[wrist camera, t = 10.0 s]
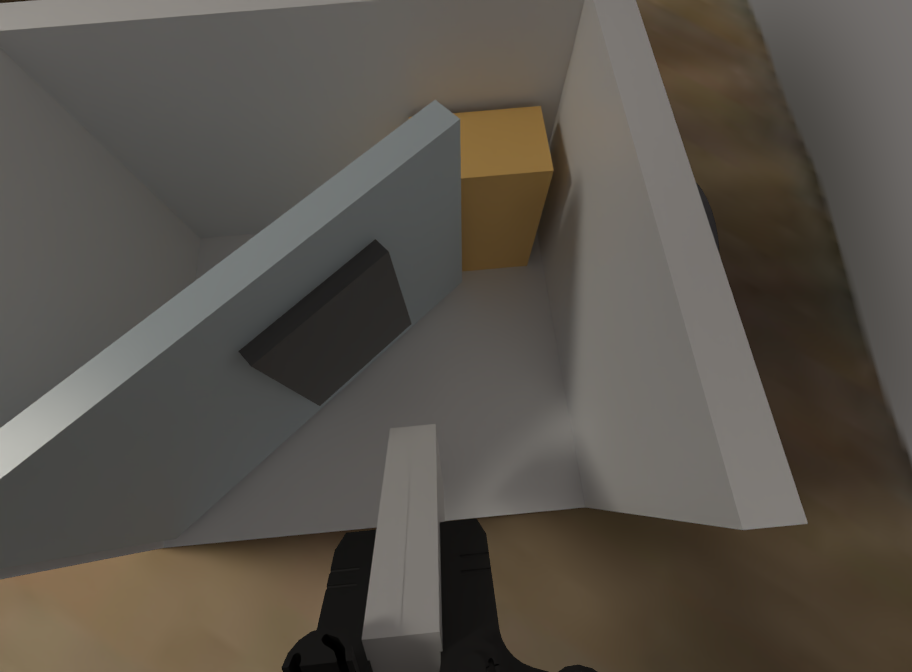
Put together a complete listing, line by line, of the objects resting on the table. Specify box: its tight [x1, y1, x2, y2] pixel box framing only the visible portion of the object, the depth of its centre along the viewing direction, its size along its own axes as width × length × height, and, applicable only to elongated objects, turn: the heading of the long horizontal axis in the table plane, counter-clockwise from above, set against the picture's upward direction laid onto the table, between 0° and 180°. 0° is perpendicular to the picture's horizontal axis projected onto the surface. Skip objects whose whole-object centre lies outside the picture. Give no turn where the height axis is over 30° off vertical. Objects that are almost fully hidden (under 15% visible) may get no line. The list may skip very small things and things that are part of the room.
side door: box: [0, 100, 462, 568], centre depth 15 cm, size 2×16×10 cm, turn 134°
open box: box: [0, 0, 808, 579], centre depth 16 cm, size 16×22×12 cm
